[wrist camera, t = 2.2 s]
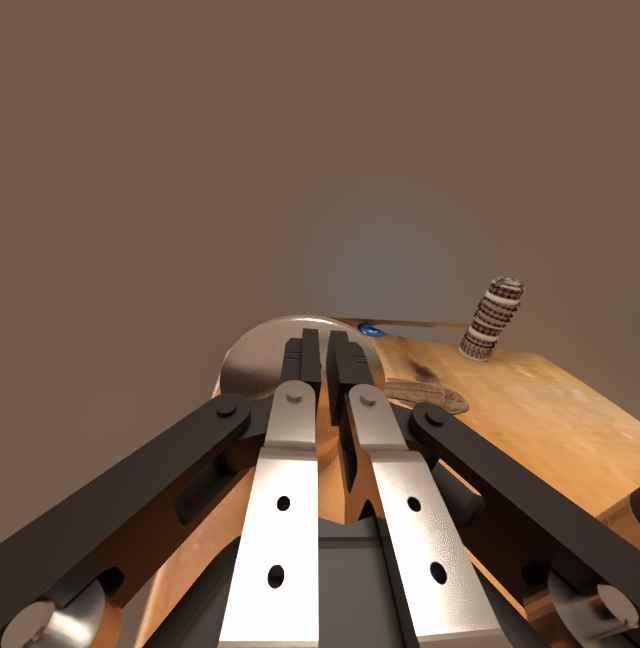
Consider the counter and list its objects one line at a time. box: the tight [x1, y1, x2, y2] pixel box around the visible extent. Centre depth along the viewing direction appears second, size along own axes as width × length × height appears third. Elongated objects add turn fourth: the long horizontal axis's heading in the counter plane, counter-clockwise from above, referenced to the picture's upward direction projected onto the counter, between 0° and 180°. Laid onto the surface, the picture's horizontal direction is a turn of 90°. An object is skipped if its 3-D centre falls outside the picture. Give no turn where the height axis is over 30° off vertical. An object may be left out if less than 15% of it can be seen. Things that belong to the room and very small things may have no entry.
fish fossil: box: [384, 378, 469, 414], centre depth 58 cm, size 26×10×1 cm, turn 86°
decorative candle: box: [458, 277, 526, 361], centre depth 71 cm, size 9×9×25 cm
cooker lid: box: [220, 315, 385, 441], centre depth 25 cm, size 18×18×5 cm
